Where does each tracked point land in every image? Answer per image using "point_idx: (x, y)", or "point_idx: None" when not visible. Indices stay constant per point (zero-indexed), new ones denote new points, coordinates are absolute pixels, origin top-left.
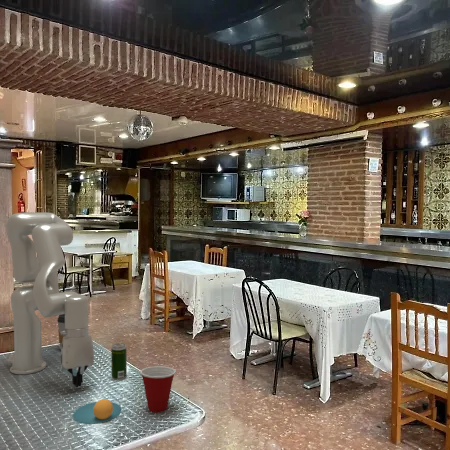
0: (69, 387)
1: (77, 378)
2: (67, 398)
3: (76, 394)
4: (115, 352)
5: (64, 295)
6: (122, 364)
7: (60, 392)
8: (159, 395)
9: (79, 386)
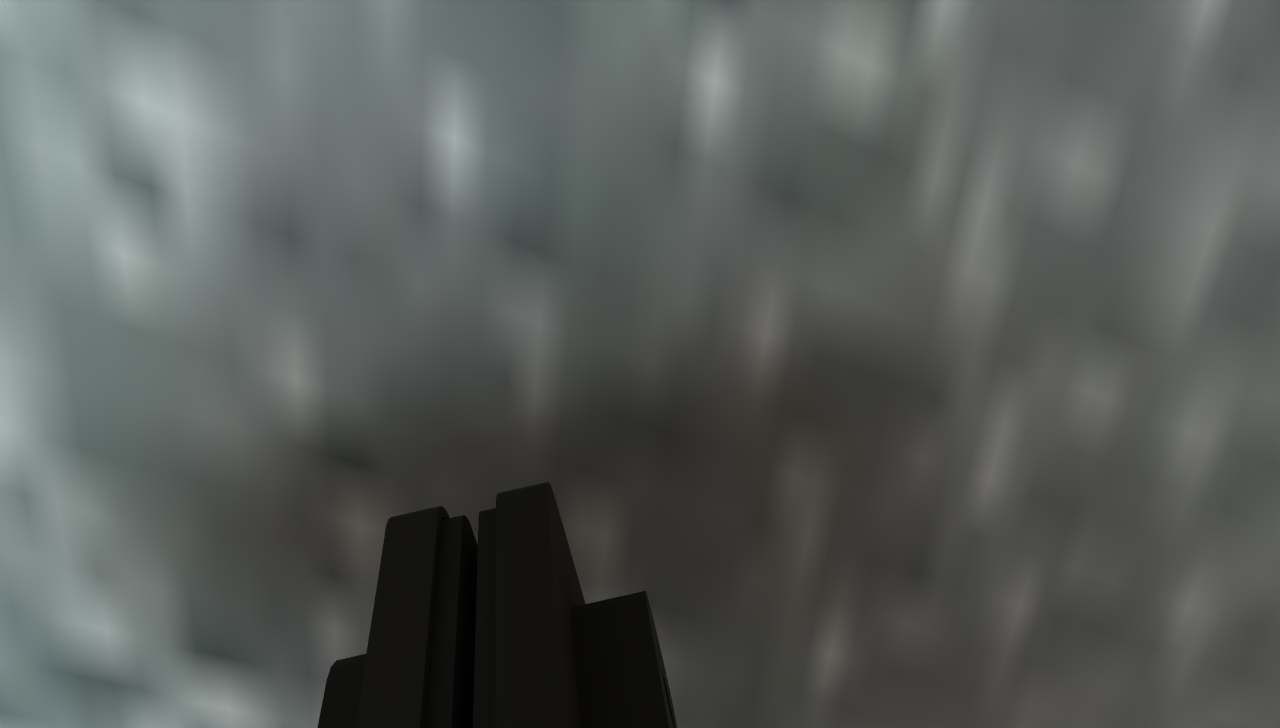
0: (691, 699)
1: (517, 714)
2: (858, 25)
3: (556, 228)
4: None
5: None
6: None
7: (944, 503)
8: None
9: (448, 517)
